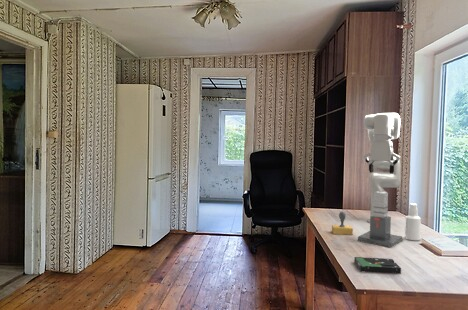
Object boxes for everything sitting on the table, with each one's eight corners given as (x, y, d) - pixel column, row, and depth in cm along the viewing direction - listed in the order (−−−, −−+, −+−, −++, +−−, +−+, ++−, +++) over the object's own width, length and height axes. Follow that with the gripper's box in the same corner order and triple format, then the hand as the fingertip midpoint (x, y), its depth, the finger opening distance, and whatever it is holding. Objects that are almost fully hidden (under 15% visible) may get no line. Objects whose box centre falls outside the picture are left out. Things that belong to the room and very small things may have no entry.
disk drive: (391, 265, 132) (353, 263, 134) (392, 258, 132) (353, 256, 134) (401, 275, 122) (360, 272, 124) (401, 268, 122) (360, 265, 124)
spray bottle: (418, 237, 170) (419, 203, 170) (421, 241, 164) (422, 205, 163) (404, 236, 173) (404, 202, 172) (406, 239, 166) (407, 204, 166)
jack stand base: (370, 234, 176) (370, 212, 176) (402, 240, 165) (402, 216, 165) (357, 240, 165) (358, 216, 164) (391, 247, 154) (392, 222, 153)
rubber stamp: (333, 234, 176) (334, 212, 176) (331, 231, 182) (332, 210, 182) (352, 235, 175) (353, 212, 175) (350, 232, 181) (350, 210, 181)
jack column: (376, 234, 169) (377, 191, 168) (387, 235, 165) (388, 192, 164) (372, 236, 165) (373, 192, 164) (383, 238, 161) (384, 193, 161)
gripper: (402, 138, 160) (402, 173, 161) (367, 139, 172) (366, 171, 173) (397, 138, 155) (397, 174, 155) (361, 138, 167) (360, 172, 167)
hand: (381, 172), depth 164 cm, fingers open, 9 cm apart
